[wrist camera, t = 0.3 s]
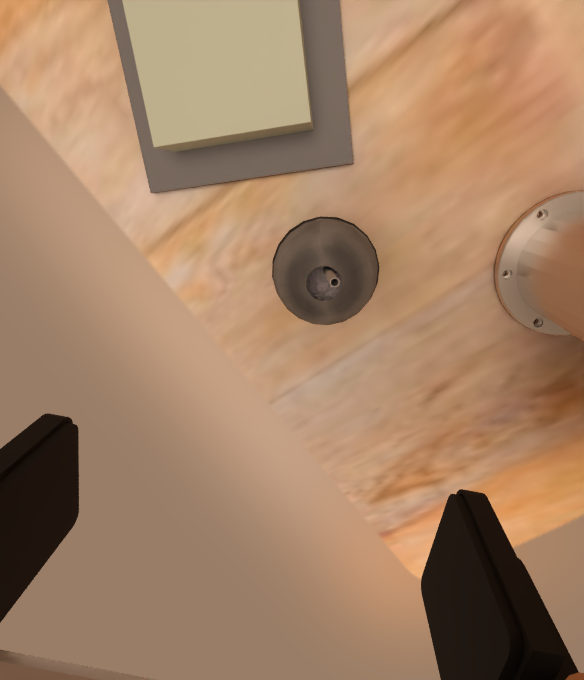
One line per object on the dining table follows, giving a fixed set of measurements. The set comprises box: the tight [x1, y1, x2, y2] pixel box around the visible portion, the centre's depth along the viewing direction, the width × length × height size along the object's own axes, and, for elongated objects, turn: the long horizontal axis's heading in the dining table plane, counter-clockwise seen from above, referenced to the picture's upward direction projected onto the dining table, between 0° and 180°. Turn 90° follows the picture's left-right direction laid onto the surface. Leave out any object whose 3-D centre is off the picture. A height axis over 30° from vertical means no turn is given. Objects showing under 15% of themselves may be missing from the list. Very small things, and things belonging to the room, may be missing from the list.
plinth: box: [108, 0, 353, 193], centre depth 34 cm, size 18×18×6 cm
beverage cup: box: [272, 217, 379, 325], centre depth 32 cm, size 7×7×20 cm
